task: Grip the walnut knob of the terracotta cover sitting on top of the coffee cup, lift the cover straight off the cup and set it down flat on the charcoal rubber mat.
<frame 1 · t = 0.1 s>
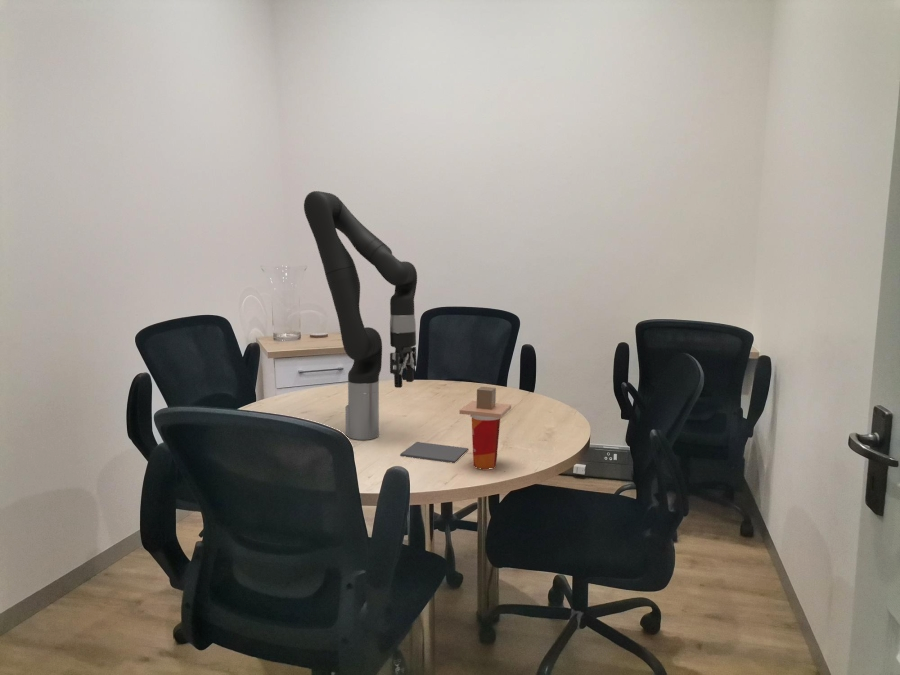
hand: (404, 384, 182), 17 cm above the table, tool pointing down, fingers open, 8 cm apart
mat: (434, 453, 174), on the table
cover: (485, 410, 162), point 15 cm above the table, touching coffee cup
coffee cup: (484, 466, 164), on the table, touching cover
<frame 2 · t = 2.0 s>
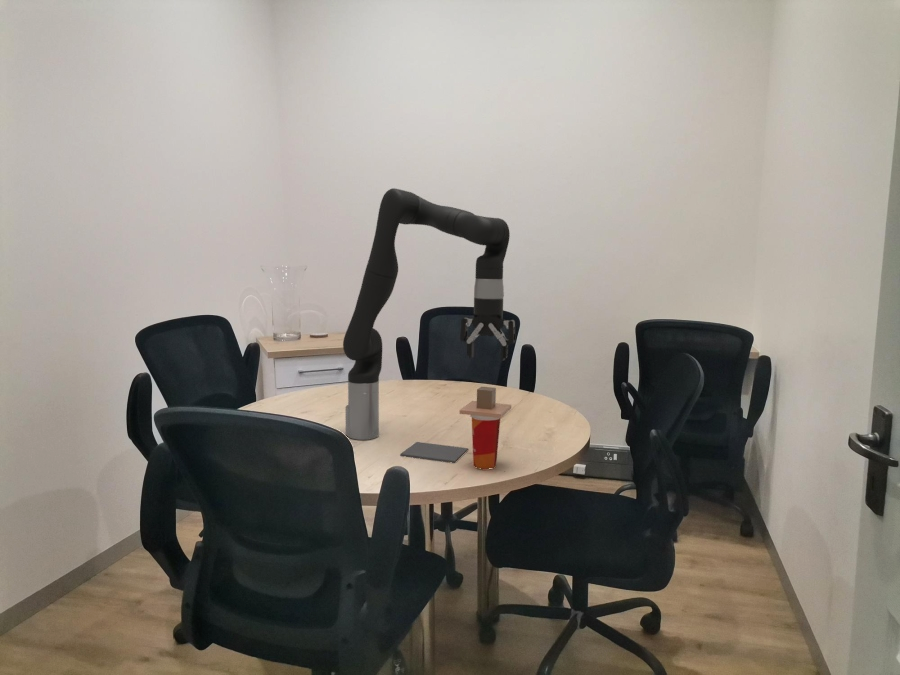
hand: (487, 358, 160), 29 cm above the table, tool pointing down, fingers open, 8 cm apart
nothing on the table moved.
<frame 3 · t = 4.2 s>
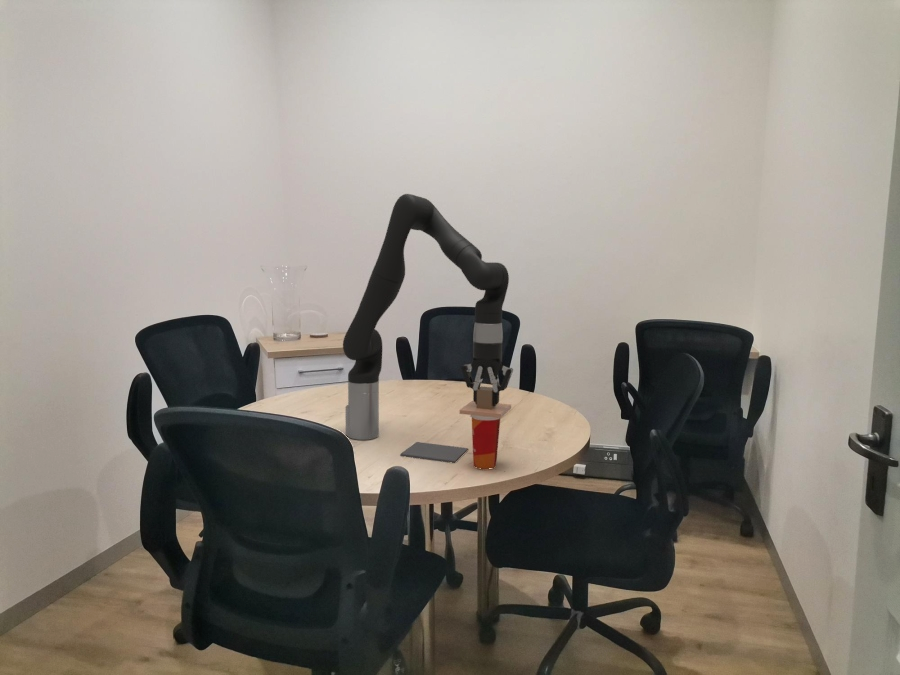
hand: (486, 404, 161), 17 cm above the table, tool pointing down, fingers closed on cover, 4 cm apart
cover: (485, 410, 162), point 15 cm above the table, touching coffee cup, gripper
everything else where it was.
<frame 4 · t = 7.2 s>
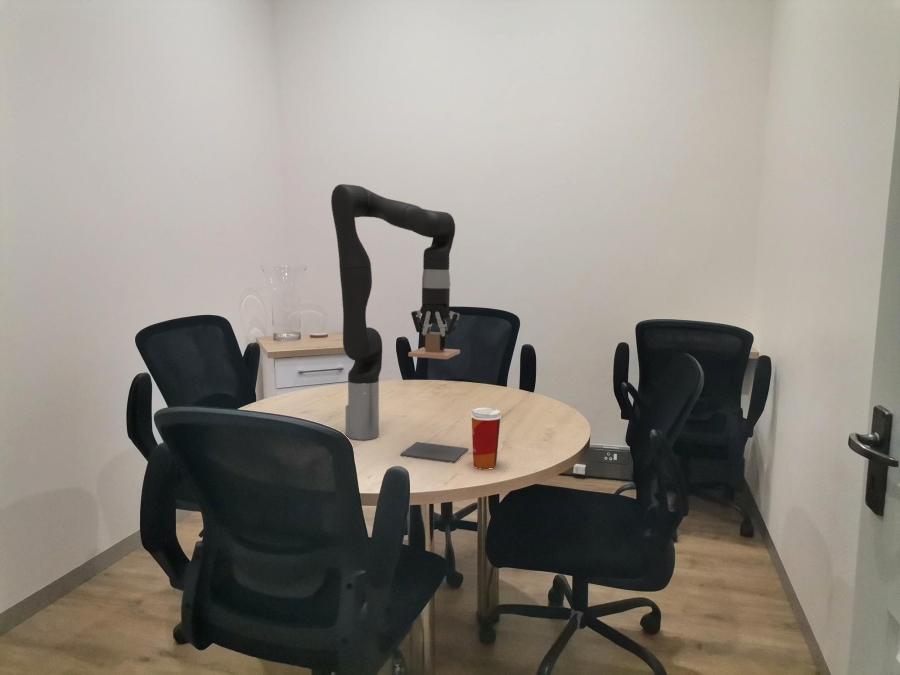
hand: (434, 348, 169), 30 cm above the table, tool pointing down, fingers closed on cover, 4 cm apart
cover: (434, 354, 169), point 28 cm above the table, touching gripper
coffee cup: (484, 466, 164), on the table
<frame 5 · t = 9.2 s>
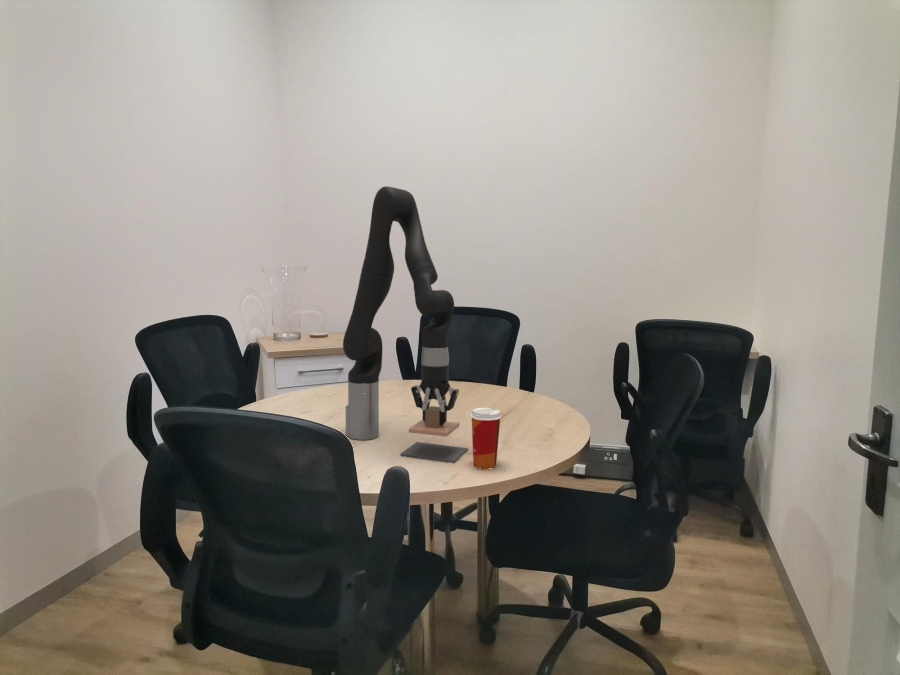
hand: (434, 423, 172), 9 cm above the table, tool pointing down, fingers closed on cover, 4 cm apart
cover: (434, 429, 172), point 7 cm above the table, touching gripper
everything else where it was.
when the fingers open (4 cm above the table, at t = 10.7 s): cover drops 1 cm, resting on mat.
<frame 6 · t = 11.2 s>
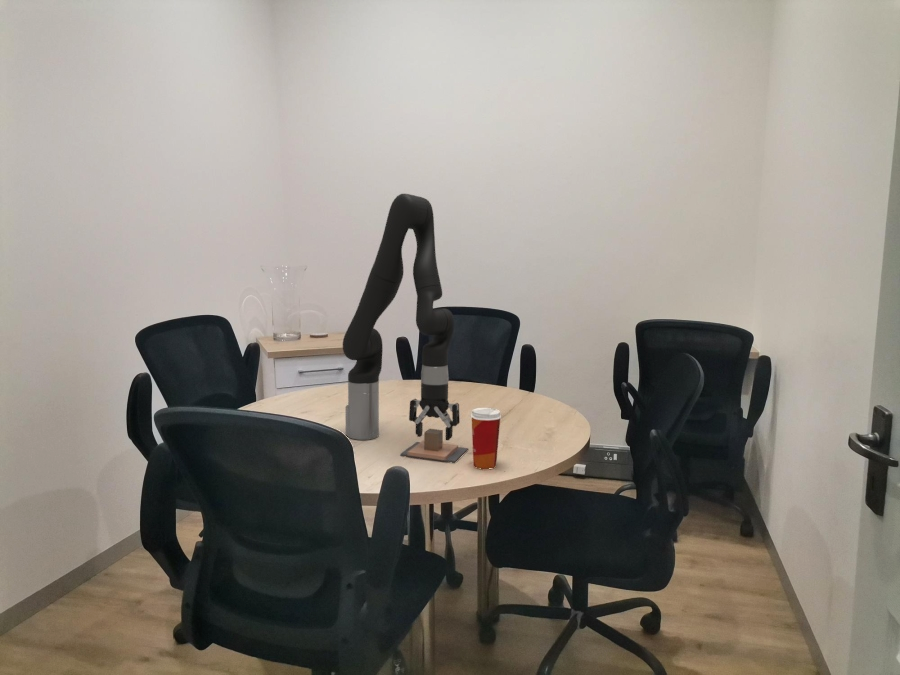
hand: (433, 437, 172), 5 cm above the table, tool pointing down, fingers open, 8 cm apart
cover: (433, 451, 173), point 1 cm above the table, touching mat
everything else where it was.
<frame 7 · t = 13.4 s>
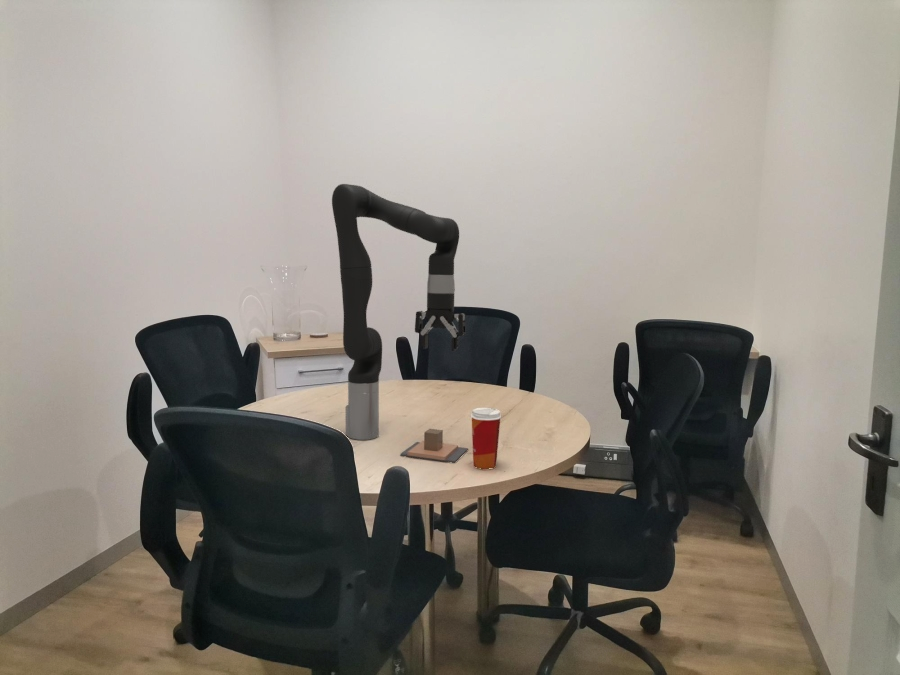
hand: (439, 349, 171), 29 cm above the table, tool pointing down, fingers open, 8 cm apart
nothing on the table moved.
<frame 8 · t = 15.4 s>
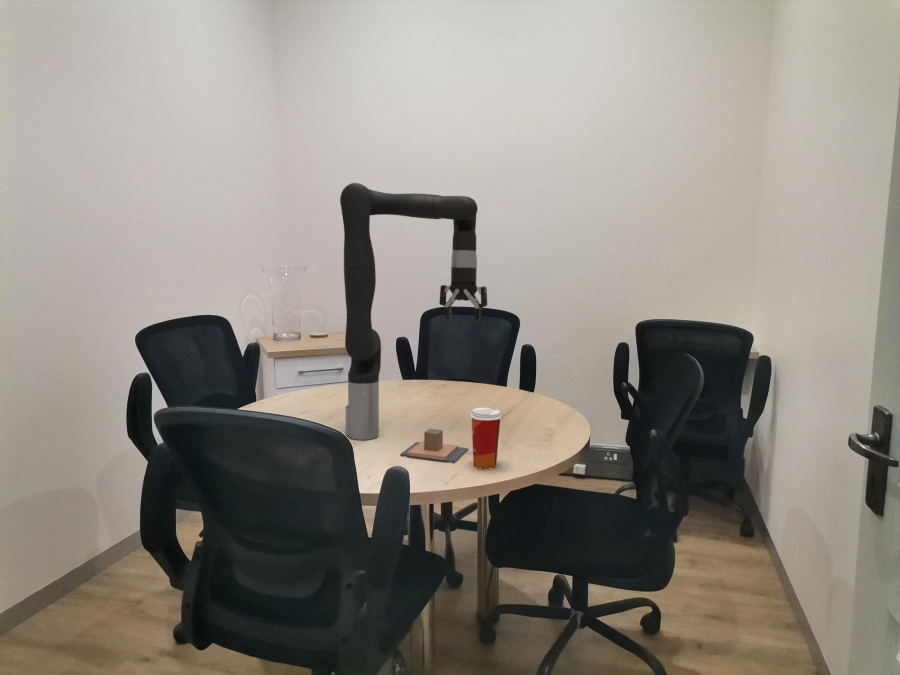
hand: (462, 320, 184), 36 cm above the table, tool pointing down, fingers open, 8 cm apart
nothing on the table moved.
at the end: cover inside the target area on the mat (1.0 cm from its centre), point 0.6 cm above the mat's base; cover tilted 0°; coffee cup moved 0.2 cm from its start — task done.
